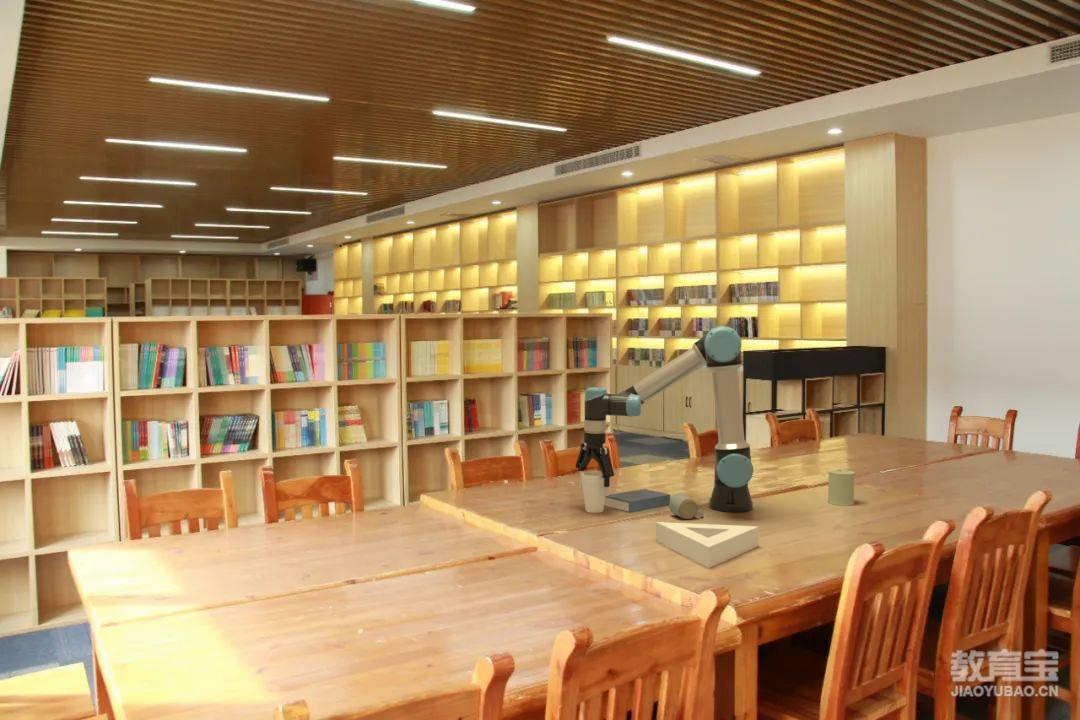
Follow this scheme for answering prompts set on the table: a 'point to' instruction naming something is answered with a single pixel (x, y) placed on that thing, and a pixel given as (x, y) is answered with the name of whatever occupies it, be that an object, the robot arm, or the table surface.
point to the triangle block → (707, 540)
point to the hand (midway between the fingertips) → (593, 492)
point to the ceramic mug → (684, 506)
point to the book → (637, 500)
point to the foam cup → (592, 491)
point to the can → (841, 487)
